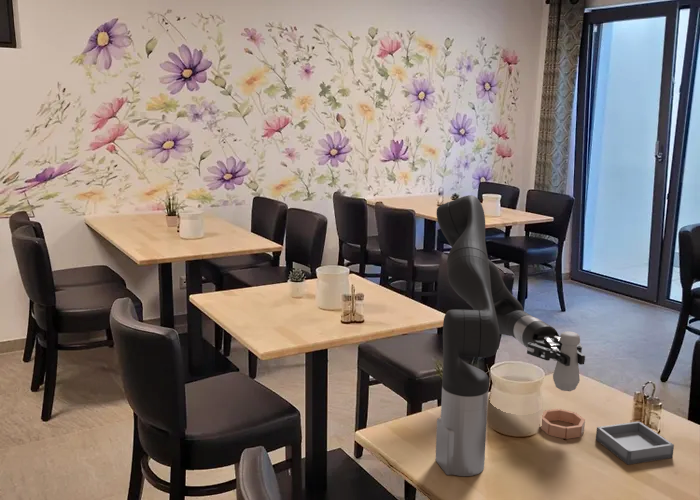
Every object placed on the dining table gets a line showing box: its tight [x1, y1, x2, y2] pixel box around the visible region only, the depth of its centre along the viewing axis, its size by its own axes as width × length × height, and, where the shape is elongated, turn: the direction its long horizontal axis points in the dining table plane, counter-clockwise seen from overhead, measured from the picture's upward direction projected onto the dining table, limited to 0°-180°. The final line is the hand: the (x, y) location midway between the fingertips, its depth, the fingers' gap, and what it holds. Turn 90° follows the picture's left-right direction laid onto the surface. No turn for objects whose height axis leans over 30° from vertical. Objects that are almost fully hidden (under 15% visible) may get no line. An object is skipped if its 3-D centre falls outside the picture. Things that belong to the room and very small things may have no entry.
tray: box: [595, 421, 675, 465], centre depth 147 cm, size 11×11×3 cm
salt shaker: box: [552, 331, 581, 392], centre depth 153 cm, size 6×6×13 cm
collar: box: [540, 408, 586, 440], centre depth 156 cm, size 9×9×2 cm
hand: (575, 361), depth 150 cm, fingers closed on salt shaker, 3 cm apart
